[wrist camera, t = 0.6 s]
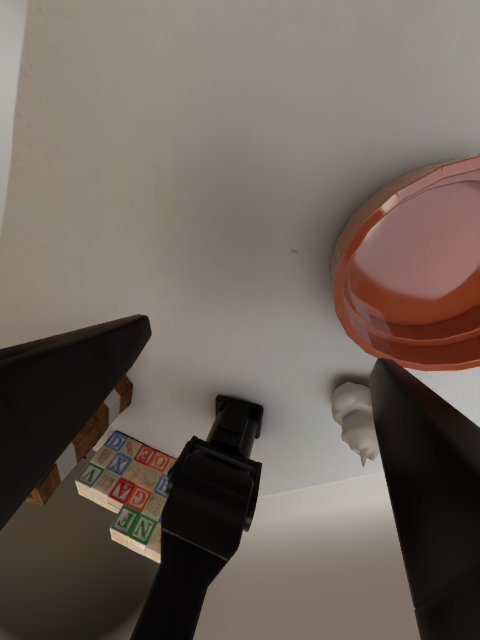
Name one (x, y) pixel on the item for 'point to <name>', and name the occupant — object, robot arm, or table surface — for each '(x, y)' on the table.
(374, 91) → the table surface
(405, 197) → the bowl
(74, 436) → the robot arm
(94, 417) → the mug
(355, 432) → the grey rounded figurine
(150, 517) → the stack of blocks
